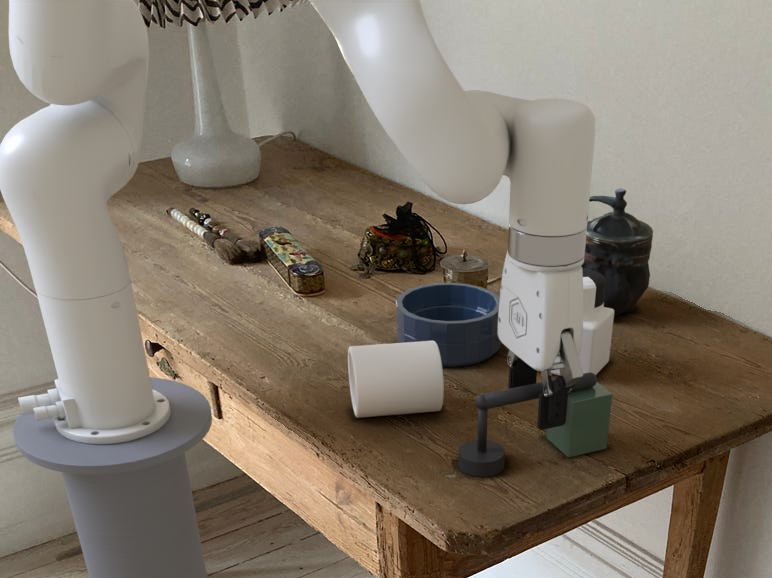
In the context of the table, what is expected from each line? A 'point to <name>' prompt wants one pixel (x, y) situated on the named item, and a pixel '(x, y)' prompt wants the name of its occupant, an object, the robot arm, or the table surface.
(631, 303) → the coffee grinder
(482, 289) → the bowl
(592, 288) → the medicine bottle
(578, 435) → the green rectangular block
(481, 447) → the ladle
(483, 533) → the table surface
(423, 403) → the mug
